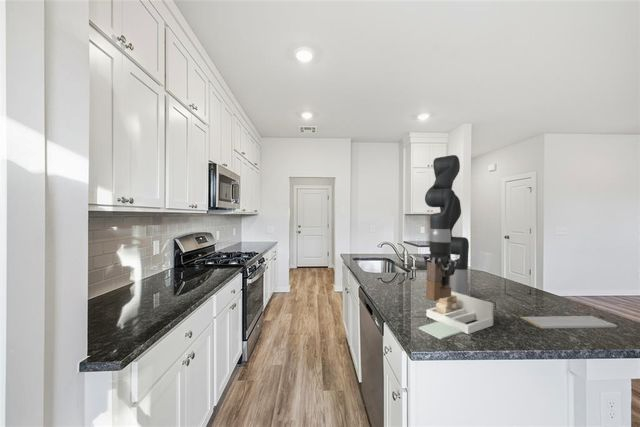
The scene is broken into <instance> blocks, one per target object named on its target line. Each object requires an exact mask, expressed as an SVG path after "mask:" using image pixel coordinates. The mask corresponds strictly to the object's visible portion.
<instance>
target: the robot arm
mask: <svg viewBox="0 0 640 427" xmlns="http://www.w3.org/2000/svg"><path fill="white" fill-rule="evenodd" d="M432 163H433V164H432V165H433V171H434V176H435V177H434V178H435V180H434V182H433V185H431V187H429V188H428V190H427V191H426V193H425V195H424V202H425V204H426V205H427V206H428V207H430V208H439V210H440V212H436V213H432V214H431V215H429V216H430V217H429V235H428V236H429V240H428V241H429V242H428V243H429V244H428V246H429V252H430V254H429V255H426V256H423V261H424V263H425V264H424V265H425V267H426V269H427V262H430V263H435V264H436V265H437V267H438V268H439V270H441V271H442V275H443V276H442V286H447V285H448V284H449V276H450V287H451V291H453V292H457V293H460V294H463V295H467V296H470V295H469V293H470V292H469V288H470V286H469V282H468V281H469V279H468V278H469V273H468V272H469V270H468V269H469V266H468V265H469V250H470V249H469V248H470V247H469V246H470V243H469V239H468V238H467V237H462V236H453V233H452V232H453V229H454V227H455V225H456V223H457V222H458V221H459V219H460V217H461V215H462V206H461V200H460V198H459V197H458V195H457V194H456V193H455V191H454V190H453V183H454V181H455V180H456V178H457V177H458V174H459V172H460V169H461V164H460V158H459V157H458V156H457V155H454V154H451V155H447V156H440V157H435V158H434V159H433V162H432ZM450 252H451V255H455V256H456V255H457V256H459V258H457V259H454V260H453V259H452V257H450ZM448 263H449V265H450V266H448ZM444 267H445V268H444Z"/></svg>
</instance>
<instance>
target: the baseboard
mask: <svg viewBox="0 0 640 427" xmlns="http://www.w3.org/2000/svg"><path fill="white" fill-rule="evenodd" d="M590 314H591V315H590ZM598 317H599V318H598ZM603 318H604V316H603V315H597V316H595V315H594V316H593V315H592V312H591V313H590V312H589V313H586V314H585V315H570V316H569V315H567V316H566V315H564V316H563V315H560V316H559V315H557V316H555V315H554V316H550V315H549V316H547V315H546V316H520V319H522V320H524V321H526V322H529V323H530V324H532V325H534V326H536V327H538V328H539V329H591V328H592V329H594V328H595V329H596V328H597V329H599V328H604V329H605V328H608V329H609V328H618V325H617V324H618V323H617V322H615V324H614V323H613V322H611V320H610V319H608V321H606V320H607V319H603Z"/></svg>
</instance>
